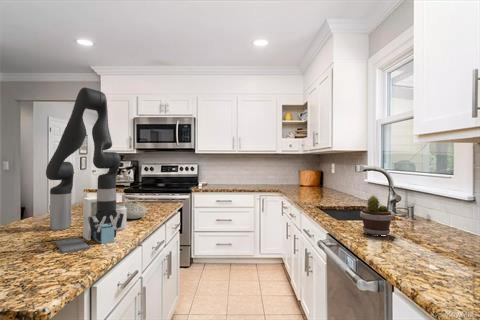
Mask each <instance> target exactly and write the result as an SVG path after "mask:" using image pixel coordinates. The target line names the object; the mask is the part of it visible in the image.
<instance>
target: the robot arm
mask: <svg viewBox="0 0 480 320" xmlns="http://www.w3.org/2000/svg"><path fill="white" fill-rule="evenodd" d="M85 110H91V111H96V113H97V119H96V121H95V122H94V124H93V127H92V129H91V136H92V141H93V147H94V148H93V150H94V151H93V157H92V158H93V159H92V163H93V165H94V167H95V168H96V169H102V170H105V169H106V170H107V169H108V171H107V172H106V173H102V174H99V175H98V176H97V188H96V189H97V191H96V197H97V212H96V214H95V216H92V217H88V220H89V224H90V228H91V230H92V231H95V232H96V239H97V240H98V241H101V232H100V230H101V228H102V226H103V224H106V223H110V224H111V226H112V227H114V239H116V237H117V231H116V229H117V228H120V227H121V224H122V220H123V216H124V214H122V213H117V212H116V205H117V197H118V196H117V190H116V189H117V188H116V187H117V177H118V173H119V170H120V169H119V168H120V165H121V161H122V160H121V159H122V158H121V156H120V154H119V153H118V152H115V151H108V150H110V149H111V148H112V147H113V141H112V137H111V133H110V128H109V119H108V118H109V117H108V112H109V111H108V100H107V96H106V94H105V92H103V91H100V90H97V89H93V88H89V87H82V88H80V90H79V91H78V94H77V95H76V98H75V102H74V105H73V108H72V111H71V115H70V117H69V119H68V122H67V124H66V126H65V128H64V130H63V132H62V135H61V138H60V140H59V143H58V145H57V147H56V149H55V151H54V153H53V155H52V157H51V159H50V160H49V162H48V164H47V165H46V170H45V176H46V178H47V180H49V181H60V183H59V184H57V185H55V186H53V187H51V188H50V190H49V230H52V231H54V230H55V231H56V230H58V231H59V230H64V229H65V230H66V229H69V228H71V227H72V198H73V197H72V196H73V195H72V193H73V192H72V191H73V188H74V187H73V185H74V175H75V174H74V172H75V171H74V170H75V169H74V165H73V163H71V162H70V161H66V159H68V158H69V157H70V156H71V155H73V154H74V153H76V152H77V151H78V150H79V149H80V148H81V147H82V145H83V144H84V142H85V139H86V137H87V129H86V128H87V127H86V125H85V123H84V121H85V120H84V118H83V117H84V113H85ZM116 216H117V218H118V220H117V224H116V225H115V222H114V219H115V217H116ZM95 218H97V220H98V223H97V227H96V228H95V225H94V221H95ZM99 222H100V223H99ZM98 241H97V242H98Z"/></svg>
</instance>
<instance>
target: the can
mask: <svg viewBox="0 0 480 320" xmlns="http://www.w3.org/2000/svg"><path fill="white" fill-rule="evenodd" d="M126 211H127V208H126V207H125V205H119V204H116V212H117V213H122V214H124V216H123V220H122V224H121V227H120V228H117V229H116V232H120V231H124V230H125V229H126V228H127V219H126ZM117 220H118V218H117V216H116V217H115V219H114V222H115V225H116V224H117Z"/></svg>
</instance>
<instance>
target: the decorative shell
mask: <svg viewBox="0 0 480 320" xmlns="http://www.w3.org/2000/svg"><path fill="white" fill-rule="evenodd" d="M118 205H125V207H126V208H127V211H126V220H136V219H140V218H142V217H144V216H145V215H146V214H147V212H148V208H147V206H146V205H145V204H144V203H141V202H139V201H137V200H126V201H123V202H121V203H119V204H118Z"/></svg>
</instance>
